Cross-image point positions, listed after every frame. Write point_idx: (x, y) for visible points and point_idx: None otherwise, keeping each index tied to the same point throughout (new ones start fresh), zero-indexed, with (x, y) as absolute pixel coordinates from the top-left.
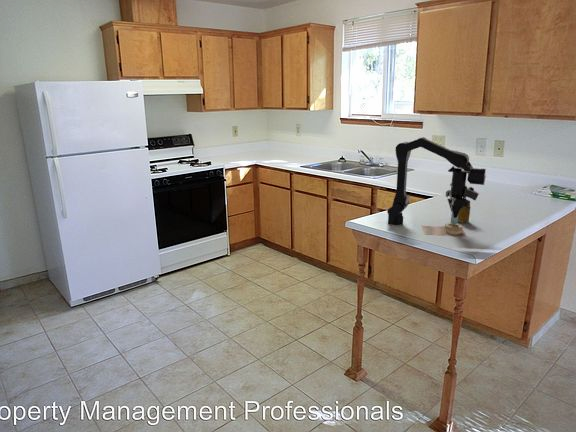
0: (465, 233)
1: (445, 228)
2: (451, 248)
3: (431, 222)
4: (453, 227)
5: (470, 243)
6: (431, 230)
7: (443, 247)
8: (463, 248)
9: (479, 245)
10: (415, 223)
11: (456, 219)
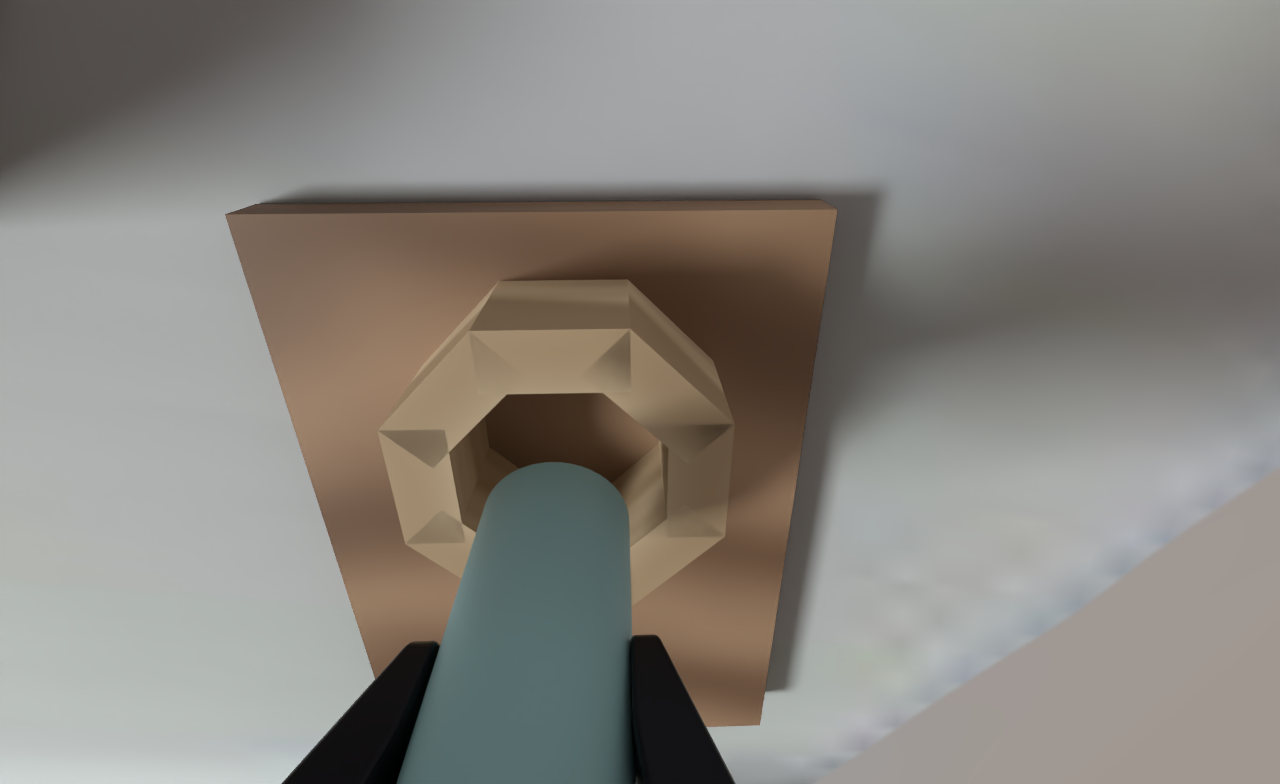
0: (635, 212)
1: None
2: (1182, 498)
3: (45, 586)
4: (710, 511)
5: (1039, 196)
6: None
7: (1124, 570)
8: (1230, 357)
9: (1175, 43)
10: (223, 736)
11: (622, 579)
